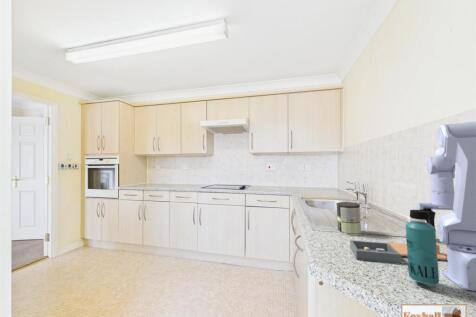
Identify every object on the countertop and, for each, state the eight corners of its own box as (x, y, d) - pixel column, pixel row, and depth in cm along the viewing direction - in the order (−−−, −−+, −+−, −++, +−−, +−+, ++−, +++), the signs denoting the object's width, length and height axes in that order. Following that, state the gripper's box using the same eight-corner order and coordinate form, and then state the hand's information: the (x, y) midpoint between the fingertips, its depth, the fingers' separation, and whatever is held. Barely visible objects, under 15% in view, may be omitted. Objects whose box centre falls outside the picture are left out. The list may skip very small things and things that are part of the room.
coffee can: (333, 231, 104) (331, 203, 105) (348, 228, 108) (346, 201, 109) (350, 237, 95) (349, 206, 96) (366, 234, 99) (364, 204, 99)
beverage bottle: (424, 277, 59) (419, 207, 60) (448, 291, 53) (442, 212, 54) (402, 278, 59) (397, 208, 60) (423, 292, 52) (418, 212, 53)
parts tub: (401, 263, 68) (400, 254, 68) (356, 259, 72) (356, 250, 72) (388, 251, 78) (388, 243, 78) (350, 247, 82) (350, 240, 82)
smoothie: (431, 242, 86) (429, 208, 87) (413, 241, 87) (411, 208, 88) (421, 237, 92) (419, 205, 93) (404, 236, 93) (402, 205, 94)
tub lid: (449, 261, 68) (448, 249, 69) (400, 257, 73) (399, 245, 73) (429, 248, 79) (428, 237, 80) (388, 245, 84) (387, 235, 84)
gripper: (460, 190, 73) (464, 228, 73) (411, 190, 78) (414, 226, 77) (476, 192, 67) (480, 235, 66) (421, 192, 71) (424, 231, 71)
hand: (445, 230), depth 71 cm, fingers open, 7 cm apart
